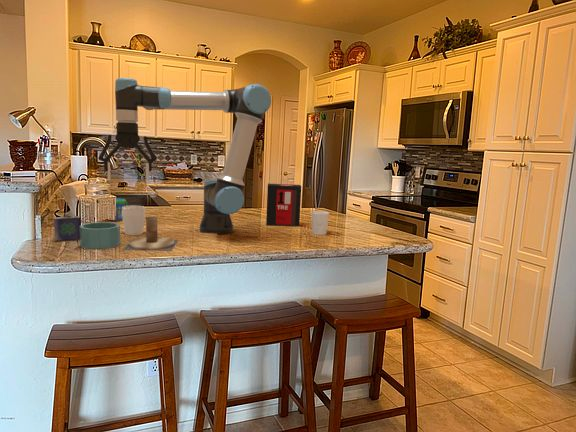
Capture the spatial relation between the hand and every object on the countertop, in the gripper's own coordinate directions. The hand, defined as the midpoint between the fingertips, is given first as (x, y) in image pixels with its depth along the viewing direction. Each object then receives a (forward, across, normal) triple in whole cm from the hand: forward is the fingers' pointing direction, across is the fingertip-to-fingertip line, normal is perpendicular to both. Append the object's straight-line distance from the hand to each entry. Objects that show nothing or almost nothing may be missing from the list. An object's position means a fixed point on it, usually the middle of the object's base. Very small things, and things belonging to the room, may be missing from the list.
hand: (128, 180), depth 160 cm
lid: (+23, -6, +10) cm, 26 cm away
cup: (+24, -3, -12) cm, 27 cm away
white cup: (+25, -82, +6) cm, 86 cm away
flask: (+24, +21, -11) cm, 34 cm away
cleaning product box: (+25, -76, -19) cm, 82 cm away
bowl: (+24, +11, +4) cm, 27 cm away
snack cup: (+24, +1, -49) cm, 55 cm away
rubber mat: (+24, -6, +10) cm, 27 cm away
